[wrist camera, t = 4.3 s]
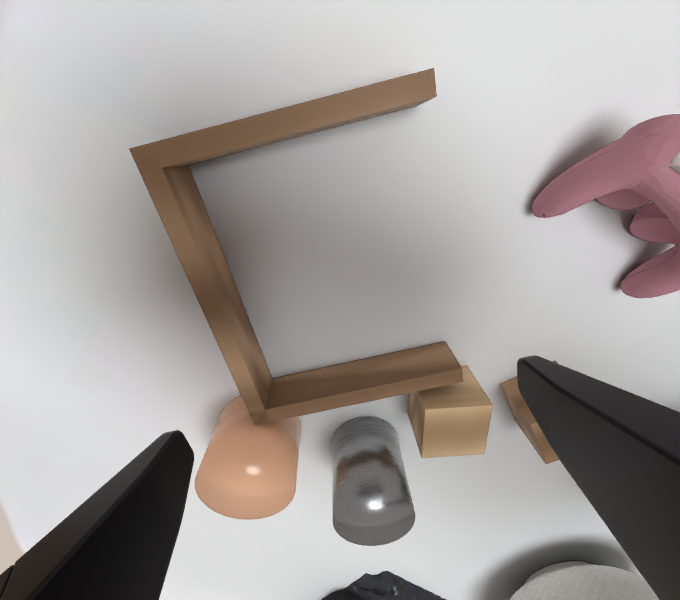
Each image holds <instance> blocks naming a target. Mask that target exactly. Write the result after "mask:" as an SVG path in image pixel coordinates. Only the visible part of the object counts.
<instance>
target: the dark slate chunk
mask: <svg viewBox="0 0 680 600" xmlns="http://www.w3.org/2000/svg"><path fill="white" fill-rule="evenodd" d="M321 600H446V599H443V598H441V597H440V596H438V595H435V594H433V593H432V592H429V591H427V590H425V589H423V588H421V587H419V586H417V585H414V584H412V583H411V582H409V581H406V580H404V579H403V578H401V577H399V576H397V575H394V574H392V573H391V572H388V571H386V572H381V573H380V575H370V574H367V573H366V574H364V575H363V576H362V577H360V578H359V579H358V580H356V581H354V582H353V583H352V584H350V585H349V586H348V587H346V588H345V589H342V590H339V591H335V592H332V593H330V594H329V595H328V596H326V597H325V598H323V599H321Z"/></svg>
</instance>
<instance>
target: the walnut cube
mask: <svg viewBox="0 0 680 600" xmlns="http://www.w3.org/2000/svg"><path fill="white" fill-rule="evenodd" d="M553 362H554V363H557V362H556V361H553ZM557 364H558V363H557ZM500 385H501V387H502V389H503V392H504V394H505V397H506V399H507V402H508V404H509V407H510V409H511V412H512V414H513V417H514V419H515V421H516V422H517V424H518V425H519V427H520V428H521V430H522V431H523V432H524V434H525V435H526V437H527V438H528V440H529V441H530V442H531V444H532V445H533V447H534V448H535V450H536V451H537V452H538V454H539V455H540V457H541V458H542V460H543V461H544V462H545V464H548V463H551V462H554V461H557V460H559V458H558V457H557V455H556V454H555V452H554V451H553V449H552V448H551V446H550V444H549V443H548V441H547V439H546V438H545V436H544V434H543V432H542V431H541V429H540V427H539V425H538V424H537V422H536V420H535V418H534V417H533V415H532V413H531V411H530V410H529V408H528V406H527V404H526V402H525V401H524V399H523V397H522V395H521V394H520V391H519V389H518V383H517V377H515V378H512V379H510V380H507V381H505V382H503V383H500Z"/></svg>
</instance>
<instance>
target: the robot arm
mask: <svg viewBox="0 0 680 600" xmlns="http://www.w3.org/2000/svg"><path fill="white" fill-rule="evenodd" d="M517 383H518V389H519V391H520V394H521V395H522V397H523V399H524V401H525V402H526V404H527V406H528V408H529V410H530V411H531V413H532V415H533V417H534V418H535V420H536V422H537V424H538V425H539V427H540V429H541V431H542V432H543V434H544V436H545V438H546V439H547V441H548V443H549V444H550V446H551V448H552V449H553V451H554V452H555V454H556V455H557V457H558V458H559V460H560V461H561V462H562V464H563V465H564V467H565V468H566V469H567V471H568V472H569V474H570V475H571V476H572V478H573V479H574V481H575V482H576V483H577V485H578V486H579V488H580V489H581V490H582V492H583V493H584V495H585V496H586V497H587V499H588V500H589V502H590V503H591V504H592V506H593V507H594V509H595V510H596V511H597V513H598V514H599V516H600V517H601V518H602V520H603V521H604V523H605V524H606V525H607V527H608V528H609V530H610V531H611V532H612V534H613V535H614V537H615V538H616V539H617V541H618V542H619V544H620V545H621V546H622V548H623V549H624V551H625V552H626V553H627V555H628V556H629V558H630V559H631V560H632V562H633V563H634V565H635V566H636V568H637V569H638V570H639V572H640V573H641V575H642V576H643V577H644V579H645V580H646V582H647V583H648V584H649V586H650V587H651V589H652V590H653V591H654V593H655V594H656V596H657V597H658V598H659V600H680V412H678V411H675V410H673V409H670V408H668V407H665V406H663V405H660V404H657V403H655V402H652V401H650V400H647V399H645V398H642V397H640V396H637V395H635V394H632V393H630V392H627V391H625V390H622V389H620V388H617V387H615V386H612V385H610V384H607V383H605V382H602V381H600V380H597V379H594V378H592V377H589V376H587V375H584V374H582V373H579V372H577V371H574V370H572V369H569V368H567V367H564V366H562V365H559V364H557V363H554V362H552V361H549V360H547V359H544V358H542V357H539V356H535V355H533V356H528V357H523V358H520V359H519V360H518V363H517ZM193 463H194V453H193V450H192V448H191V447H190V445H189V443H188V441H187V440H186V438H185V436H184V435H183V433H182V432H181V431H178V430H176V431H171V432H167V433H164V434H162V435H161V436H160V437H159V438H157V439H156V440H155V441H154V442H153V443H152V444H151V445H149V446H148V447H147V448H146V449H145V450H144V451H143V452H141V453H140V454H139V455H138V456H137V457H136V458H134V459H133V460H132V461H131V462H130V463H129V464H128V465H126V466H125V467H124V468H123V469H122V470H121V471H120V472H118V473H117V474H116V475H115V476H114V477H113V478H111V479H110V480H109V481H108V482H107V483H106V484H105V485H103V486H102V487H101V488H100V489H99V490H98V491H97V492H95V493H94V494H93V495H92V496H91V497H90V498H88V499H87V500H86V501H85V502H84V503H83V504H82V505H80V506H79V507H78V508H77V509H76V510H75V511H74V512H72V513H71V514H70V515H69V516H68V517H67V518H65V519H64V520H63V521H62V522H61V523H60V524H59V525H57V526H56V527H55V528H54V529H53V530H52V531H51V532H49V533H48V534H47V535H46V536H45V537H44V538H42V539H41V540H40V541H39V542H38V543H37V544H36V545H34V546H33V547H32V548H31V549H30V550H29V551H28V552H26V553H25V554H24V555H23V556H22V557H21V558H20V559H18V560H17V561H16V563H15V565H12V566H10V567H9V568H8V569H7V570H6V571H4V572H3V573H2V574H1V575H0V600H159V597H160V594H161V590H162V587H163V583H164V580H165V577H166V573H167V570H168V566H169V563H170V560H171V556H172V553H173V549H174V546H175V543H176V539H177V536H178V532H179V529H180V525H181V522H182V517H183V513H184V509H185V503H186V498H187V493H188V488H189V483H190V478H191V473H192V468H193Z"/></svg>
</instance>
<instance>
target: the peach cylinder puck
mask: <svg viewBox="0 0 680 600" xmlns="http://www.w3.org/2000/svg"><path fill="white" fill-rule="evenodd" d="M300 432H301V421H300V418H299V416H296V417H292V418H287V419H282V420H277V421H272V422H268V423H263V424H258V425H254V423H253V420H252V418H251V416H250V414H249V412H248V409H247V407H246V405H245V403H244V401H243V398H242V396H240V397H238V398H236V399H234V400H232V401H231V402H229V403H228V404H227V405H226V406H225V407H224V409H223V410H222V412H221V414H220V417H219V419H218V422H217V424H216V427H215V429H214V432H213V434H212V437H211V439H210V442H209V444H208V447H207V449H206V452H205V455H204V457H203V460H202V462H201V465H200V467H199V470H198V472H197V475H196V478H195V490H196V493H197V495H198V497H199V498H200V500H201V501H202V502H203V503H204V504H205V505H206V506H207V507H209V508H210V509H212V510H213V511H215V512H217V513H219V514H222V515H224V516H227V517H231V518H236V519H260V518H265V517H268V516H272V515H274V514H276V513H278V512H280V511H282V510H283V509H284V508H286V507H287V506H288V505H289V504H290V502H291V501H292V499H293V497H294V494H295V489H296V478H297V466H298V455H299V444H300Z"/></svg>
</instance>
